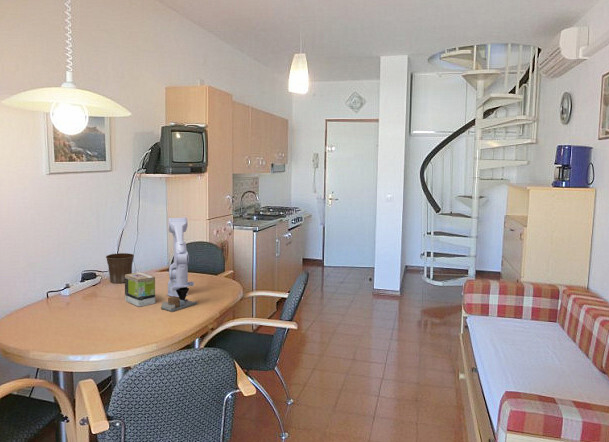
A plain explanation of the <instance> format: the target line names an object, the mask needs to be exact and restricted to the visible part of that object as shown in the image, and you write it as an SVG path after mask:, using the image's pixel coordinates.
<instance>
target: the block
mask: <svg viewBox="0 0 609 442" xmlns="http://www.w3.org/2000/svg"><path fill="white" fill-rule="evenodd" d="M167 302H169V303H172V304H175V308H176V307H179V297H176V296H169V297H167Z"/></svg>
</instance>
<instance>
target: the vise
mask: <svg viewBox="0 0 609 442" xmlns="http://www.w3.org/2000/svg"><path fill="white" fill-rule="evenodd" d="M196 305H198V301H196V300H195V301H193V300H189V299H188V298H185V305H183V306H179V307H176V308H175V304H172V303H169V302H168V301H163V302H161V306H160V309H161V310H163V311H167V312H170V313H174V312H177V311H180V310H183V309H186V308H189V307H193V306H196Z"/></svg>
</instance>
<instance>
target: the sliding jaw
mask: <svg viewBox="0 0 609 442" xmlns="http://www.w3.org/2000/svg"><path fill="white" fill-rule="evenodd" d="M183 305H185V301H184V300H181V299H179V306H183Z"/></svg>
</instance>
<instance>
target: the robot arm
mask: <svg viewBox="0 0 609 442" xmlns="http://www.w3.org/2000/svg"><path fill="white" fill-rule="evenodd" d="M167 224H168V225H167V226H168V233H171V234H172V237H173V263H171V264H170V265H169V267H168V268H169V269H168V278H169V280H168V282H167V293H166V296H169V297H172V296H176V297H179V299H181V300H184V301H185V299H186V296H189V293H188V292H189V291H190V288H189V287H194V286H195V282H194V281H189V271H188V269H189V268H188V266H189V264H190V260H189V258H190V256H189V252H188V250H187V249H188V248H187V243H186V242H185V241H184V233H185V232H186V231H187V228H188V217H169V218H168V222H167Z"/></svg>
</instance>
